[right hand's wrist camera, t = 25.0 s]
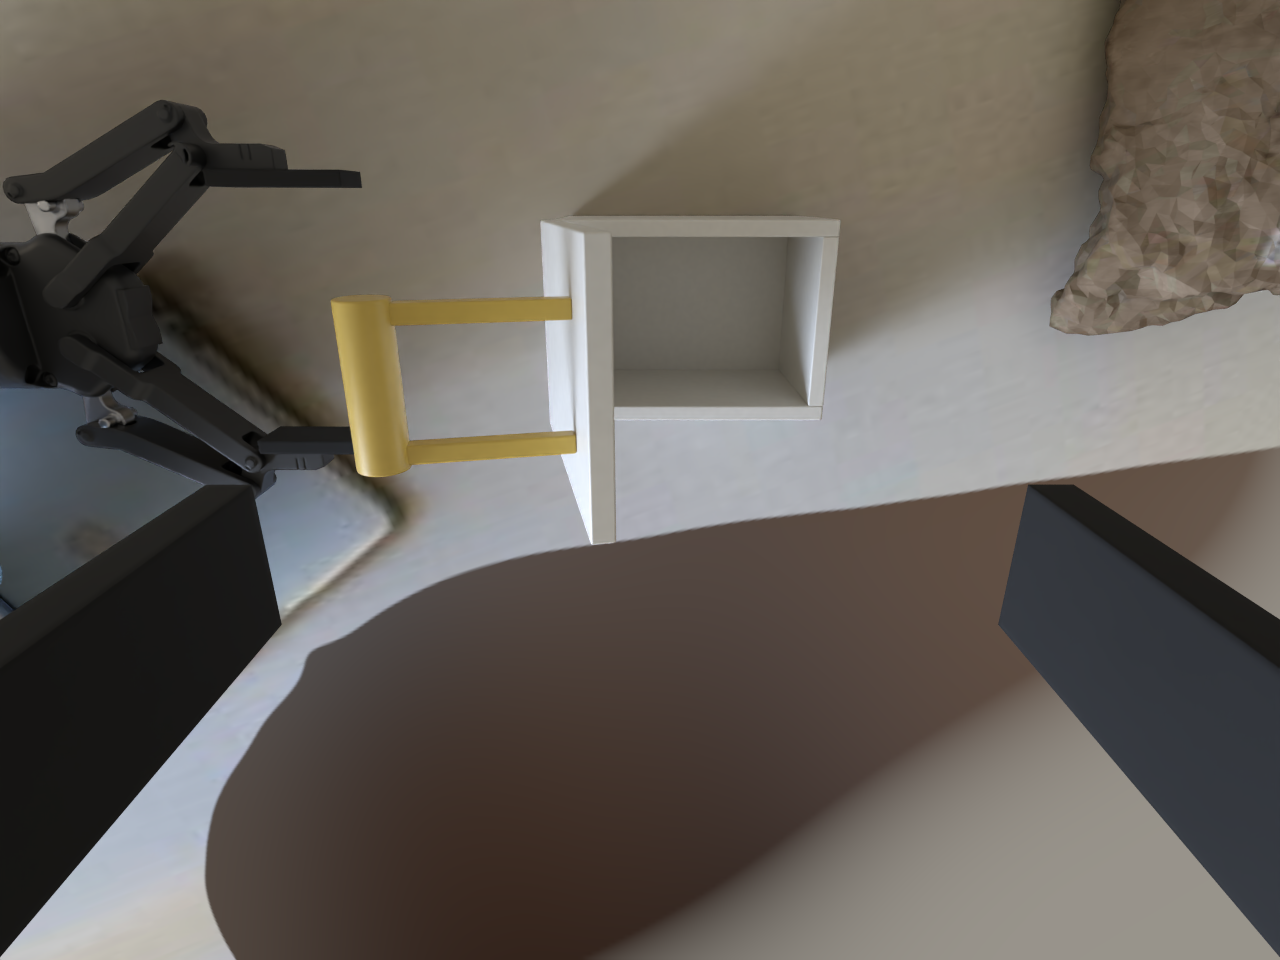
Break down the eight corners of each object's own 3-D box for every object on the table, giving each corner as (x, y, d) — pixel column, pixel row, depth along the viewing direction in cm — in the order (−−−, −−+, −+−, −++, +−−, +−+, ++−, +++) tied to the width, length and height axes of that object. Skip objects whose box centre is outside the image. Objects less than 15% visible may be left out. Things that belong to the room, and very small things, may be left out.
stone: (1314, 343, 41) (1397, 345, 35) (1034, 334, 44) (1067, 334, 39) (1409, -71, 37) (1520, -147, 31) (1090, -50, 40) (1138, -114, 34)
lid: (612, 231, 20) (294, 234, 18) (616, 543, 24) (350, 568, 22) (558, 219, 33) (368, 220, 31) (566, 422, 36) (396, 433, 35)
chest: (799, 215, 42) (841, 219, 33) (787, 379, 45) (821, 420, 37) (569, 215, 42) (550, 219, 33) (575, 378, 45) (559, 420, 37)
